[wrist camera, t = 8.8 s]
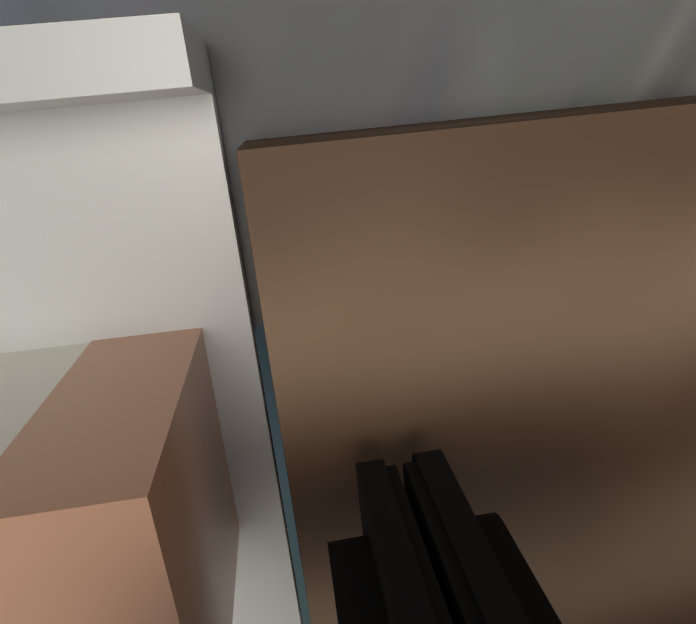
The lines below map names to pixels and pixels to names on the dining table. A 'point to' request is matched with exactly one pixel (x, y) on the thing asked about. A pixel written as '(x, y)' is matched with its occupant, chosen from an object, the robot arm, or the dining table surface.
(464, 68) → the dining table surface
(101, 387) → the terracotta tile
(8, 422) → the cream tile
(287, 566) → the tray
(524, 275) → the brown square slab
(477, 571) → the robot arm
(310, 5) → the dining table surface
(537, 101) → the dining table surface
